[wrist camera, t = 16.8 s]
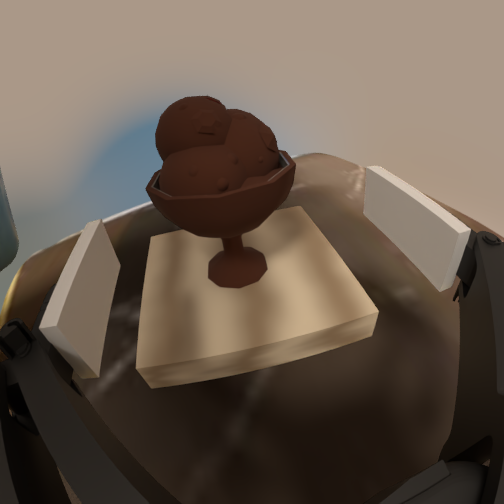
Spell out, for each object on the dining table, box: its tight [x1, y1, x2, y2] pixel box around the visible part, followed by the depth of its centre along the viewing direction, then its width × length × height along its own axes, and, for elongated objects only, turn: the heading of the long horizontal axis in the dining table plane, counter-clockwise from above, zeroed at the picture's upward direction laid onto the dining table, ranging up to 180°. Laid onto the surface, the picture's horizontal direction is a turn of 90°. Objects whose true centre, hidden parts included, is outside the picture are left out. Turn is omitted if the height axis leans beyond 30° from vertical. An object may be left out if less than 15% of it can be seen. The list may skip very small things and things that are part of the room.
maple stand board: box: [136, 206, 379, 389], centre depth 27 cm, size 18×18×3 cm
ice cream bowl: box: [146, 96, 296, 289], centre depth 22 cm, size 11×11×15 cm
